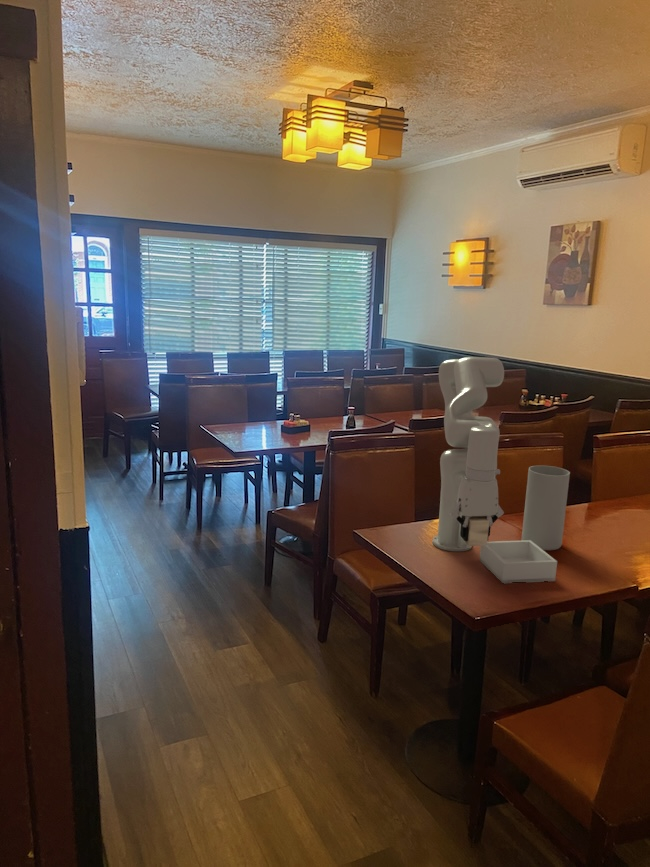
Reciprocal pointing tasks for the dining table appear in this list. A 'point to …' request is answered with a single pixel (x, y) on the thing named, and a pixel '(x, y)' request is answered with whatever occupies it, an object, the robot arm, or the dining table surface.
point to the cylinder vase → (545, 506)
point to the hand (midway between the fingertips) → (474, 538)
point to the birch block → (478, 531)
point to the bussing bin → (518, 561)
